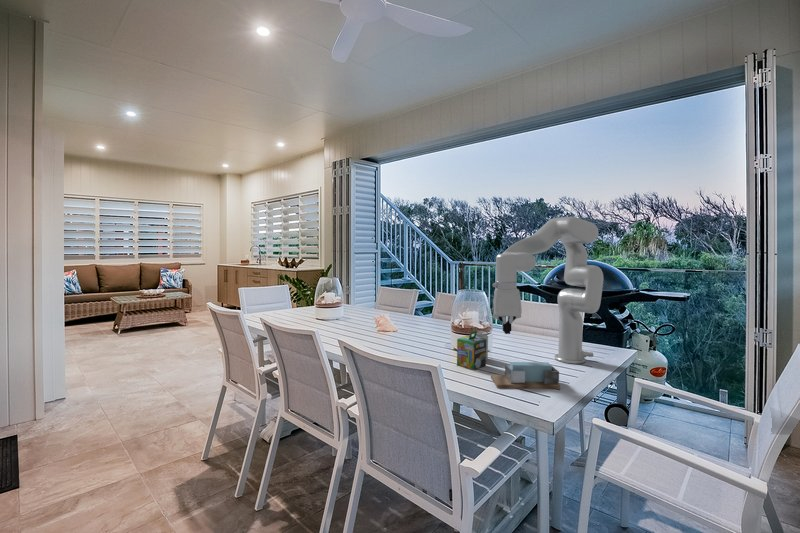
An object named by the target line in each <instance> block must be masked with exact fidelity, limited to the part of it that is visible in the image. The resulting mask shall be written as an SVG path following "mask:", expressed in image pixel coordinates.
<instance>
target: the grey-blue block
mask: <svg viewBox="0 0 800 533" xmlns="http://www.w3.org/2000/svg"><path fill="white" fill-rule="evenodd" d="M509 364H510V367H511V368H512V369H513V370H524V371H525V382H543V381H544V371H552V366H553V365H552V364H550V363H549V361H548V362H545V361H544V362H542V361H538V362H537V361H536V362H535V361H532V362H531V361H510V362H509Z"/></svg>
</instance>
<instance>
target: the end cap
mask: <svg viewBox="0 0 800 533" xmlns="http://www.w3.org/2000/svg"><path fill="white" fill-rule="evenodd" d="M504 375H505V376H506V377H507V379H508V380H509V381H510V383H525V371H524V370H513V369H512V368H511V367H510V363H509V364H508V363H505V365H504Z"/></svg>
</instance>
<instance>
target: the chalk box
mask: <svg viewBox="0 0 800 533" xmlns="http://www.w3.org/2000/svg"><path fill="white" fill-rule="evenodd" d="M473 333H474V336H472V334H473ZM476 333H477V330H473V331H471V332H470V333H469V335H465V336H462V337H460V338H459V337H458V338H457V339H456V342H457V343H456V366H460V367H463V368H467V369H469V370H473V371H474V370H477V369H480V368H482V367H485V366H487V359H486V342H487V339H484V338H480V337H476Z"/></svg>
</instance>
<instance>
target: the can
mask: <svg viewBox="0 0 800 533" xmlns="http://www.w3.org/2000/svg"><path fill="white" fill-rule="evenodd" d="M472 336H474V333H473V334H472ZM476 337H480V338H484V339H487V342H486V360H487V359H488V358H489V336H488V334H487V332H486V331H483V330H478V331H477V333H476Z"/></svg>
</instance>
